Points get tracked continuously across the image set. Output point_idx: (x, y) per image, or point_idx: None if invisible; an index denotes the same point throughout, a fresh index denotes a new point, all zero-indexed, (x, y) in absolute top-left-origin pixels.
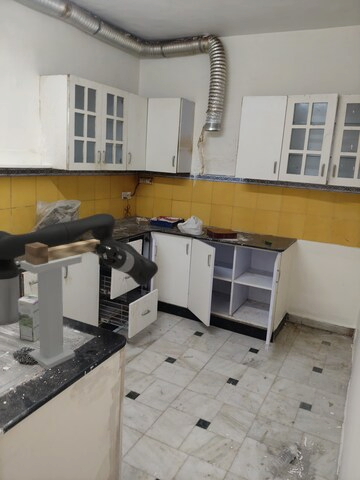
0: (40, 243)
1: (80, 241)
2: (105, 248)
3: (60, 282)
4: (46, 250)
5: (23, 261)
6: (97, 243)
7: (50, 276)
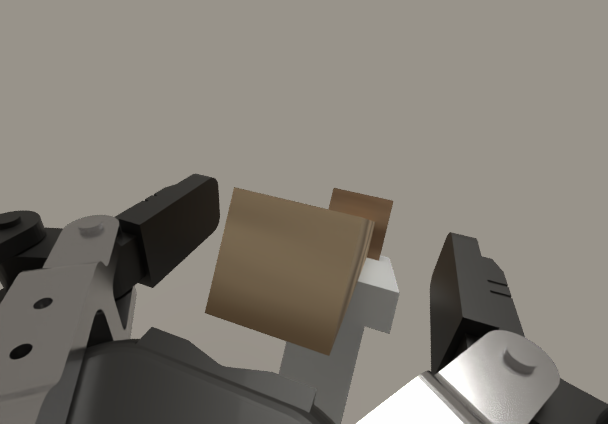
0: (372, 196)
1: (442, 262)
2: (119, 217)
3: (288, 342)
4: (331, 203)
5: (383, 256)
6: (209, 177)
7: None
